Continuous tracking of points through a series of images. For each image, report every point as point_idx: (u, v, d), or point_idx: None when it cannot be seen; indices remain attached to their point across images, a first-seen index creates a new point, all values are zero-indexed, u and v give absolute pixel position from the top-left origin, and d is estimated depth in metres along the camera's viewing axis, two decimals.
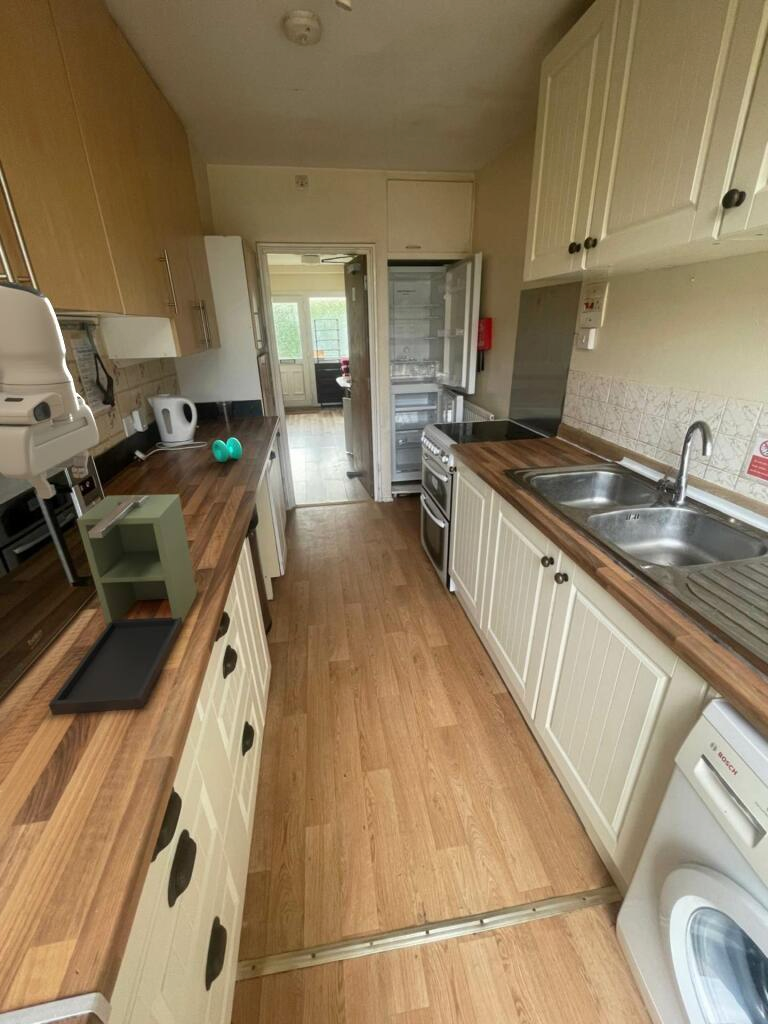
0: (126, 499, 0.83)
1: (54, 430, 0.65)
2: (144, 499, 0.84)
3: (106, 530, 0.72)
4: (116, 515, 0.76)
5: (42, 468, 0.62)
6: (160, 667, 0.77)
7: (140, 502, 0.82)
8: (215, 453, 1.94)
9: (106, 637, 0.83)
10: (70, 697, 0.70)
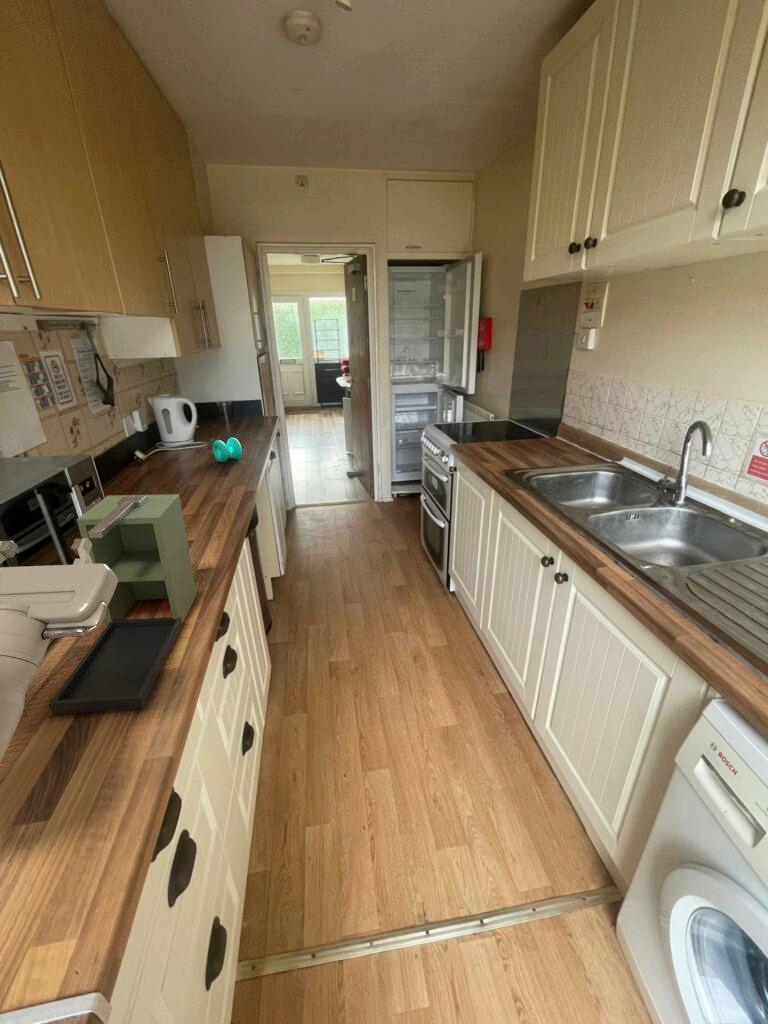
0: (126, 499, 0.83)
1: None
2: (144, 499, 0.84)
3: (106, 530, 0.72)
4: (116, 515, 0.76)
5: None
6: (160, 667, 0.77)
7: (140, 502, 0.82)
8: (215, 453, 1.94)
9: (106, 637, 0.83)
10: (70, 697, 0.70)
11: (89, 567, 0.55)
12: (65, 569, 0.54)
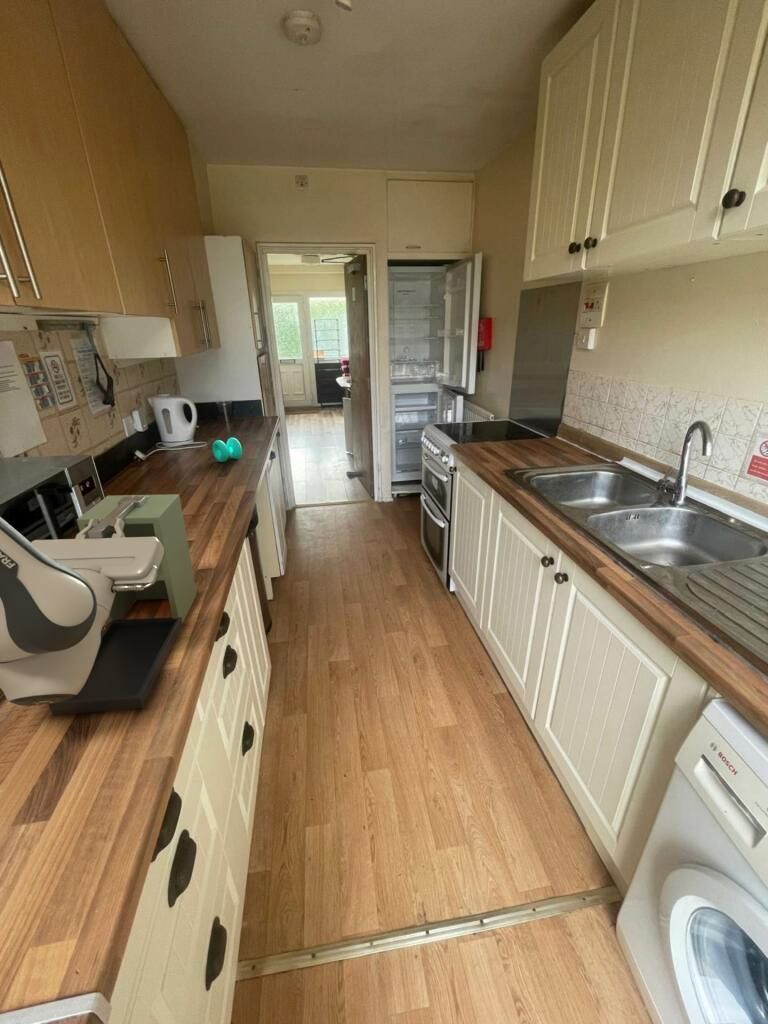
0: (126, 499, 0.83)
1: None
2: (144, 499, 0.84)
3: (106, 530, 0.72)
4: (116, 515, 0.76)
5: None
6: (160, 667, 0.77)
7: (140, 502, 0.82)
8: (215, 453, 1.94)
9: (106, 637, 0.83)
10: None
11: (144, 539, 0.71)
12: (125, 541, 0.70)
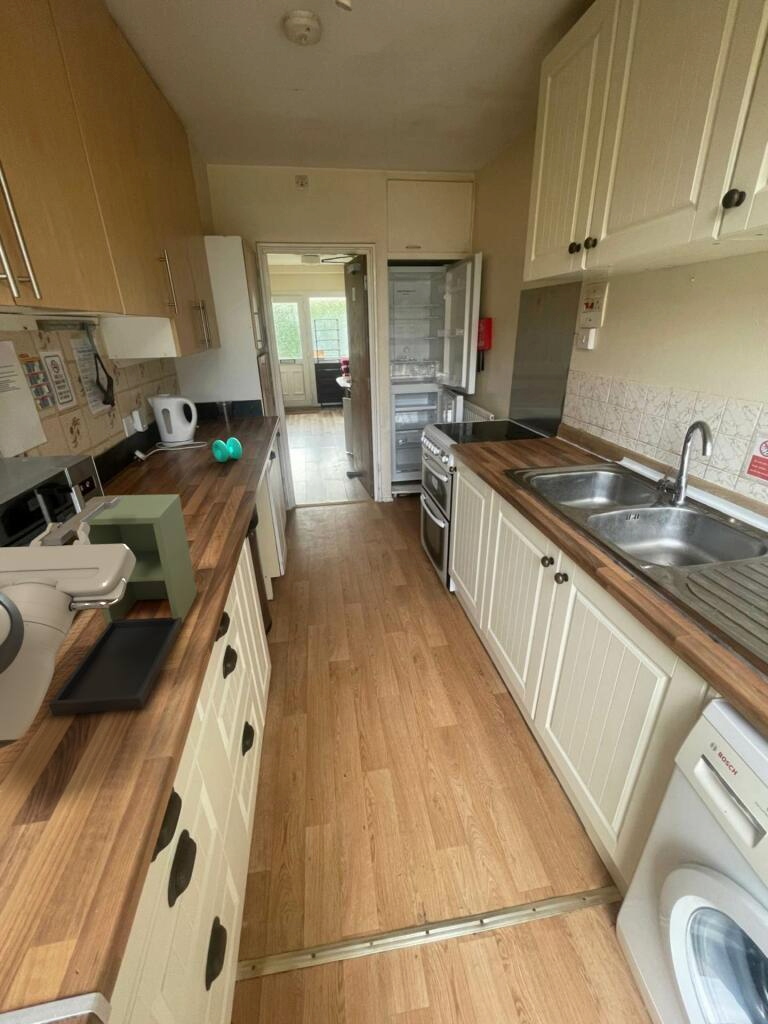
0: (95, 500, 0.72)
1: None
2: (117, 499, 0.73)
3: (67, 535, 0.61)
4: (81, 518, 0.65)
5: None
6: (160, 667, 0.77)
7: (112, 503, 0.71)
8: (215, 453, 1.94)
9: (106, 637, 0.83)
10: (70, 697, 0.70)
11: (110, 547, 0.60)
12: (88, 549, 0.59)
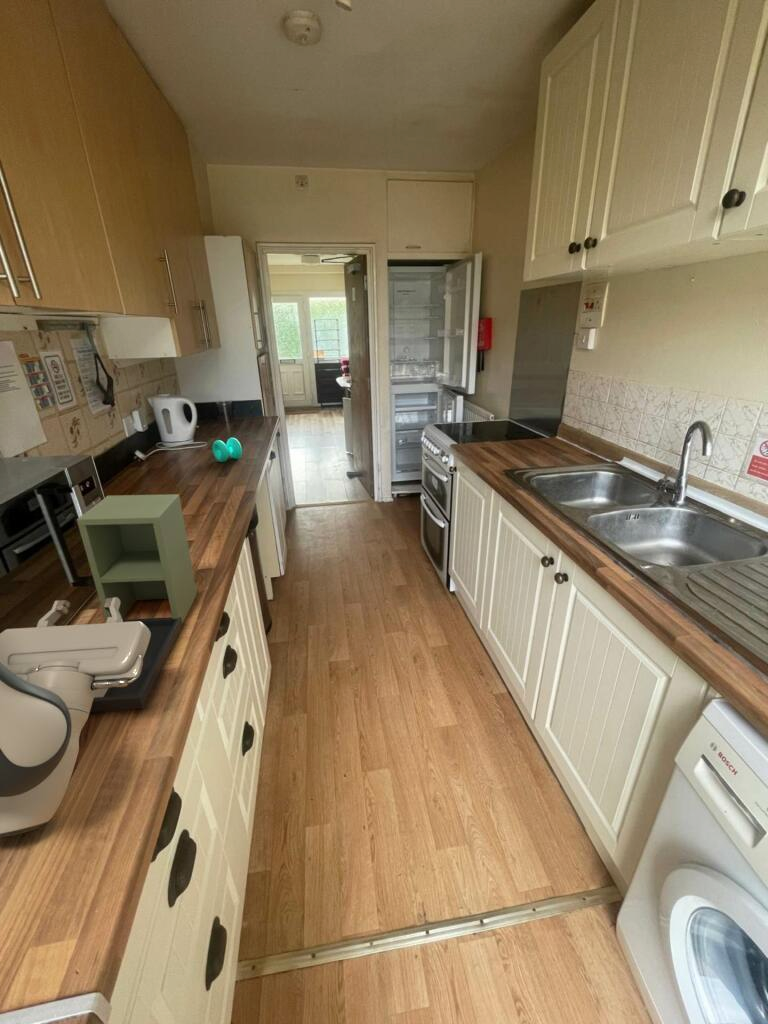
0: None
1: None
2: None
3: (109, 690, 0.71)
4: None
5: None
6: (160, 667, 0.77)
7: None
8: (215, 453, 1.94)
9: None
10: None
11: (127, 625, 0.64)
12: (107, 628, 0.63)
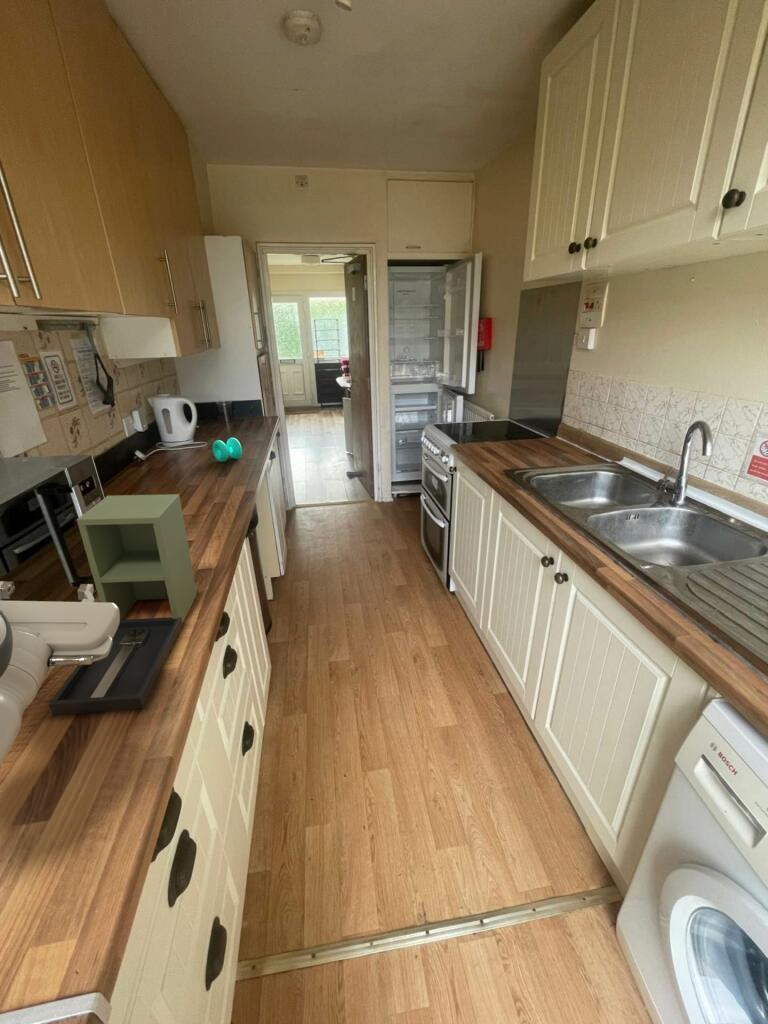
0: (128, 639, 0.82)
1: None
2: (146, 636, 0.83)
3: (109, 690, 0.71)
4: (118, 668, 0.75)
5: None
6: (160, 667, 0.77)
7: (142, 642, 0.82)
8: (215, 453, 1.94)
9: None
10: (70, 697, 0.70)
11: (100, 604, 0.58)
12: (75, 605, 0.57)
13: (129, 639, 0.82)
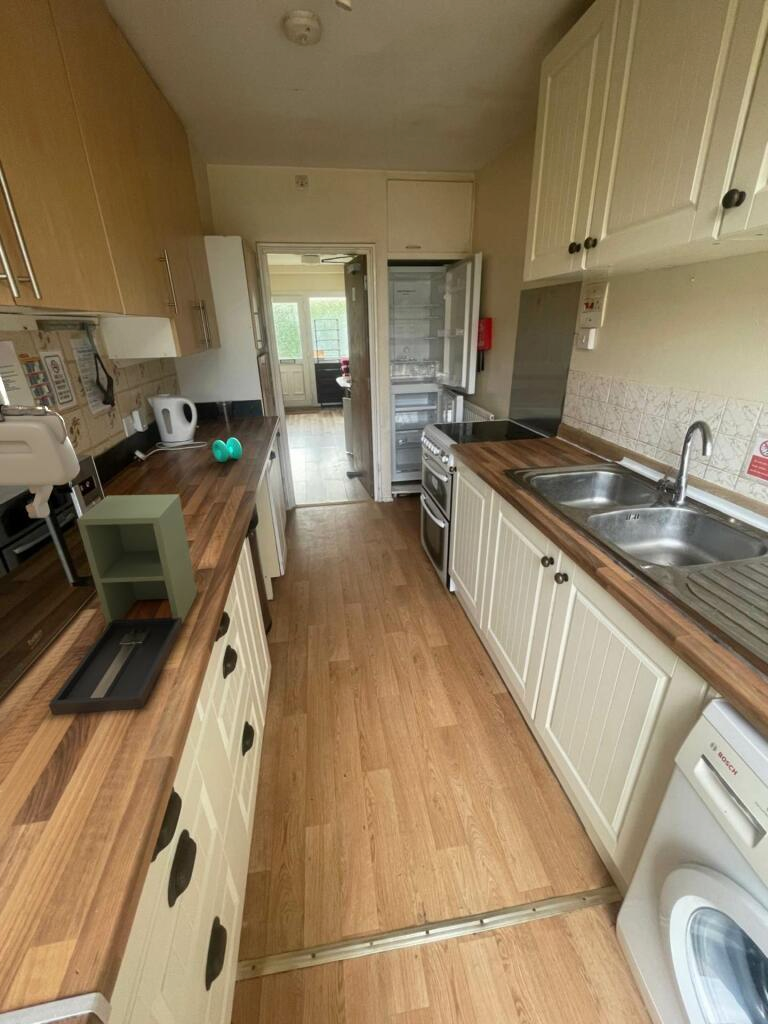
0: (128, 639, 0.82)
1: None
2: (146, 636, 0.83)
3: (109, 690, 0.71)
4: (118, 668, 0.75)
5: None
6: (160, 667, 0.77)
7: (142, 642, 0.82)
8: (215, 453, 1.94)
9: (106, 637, 0.83)
10: (70, 697, 0.70)
11: None
12: None
13: (129, 639, 0.82)
